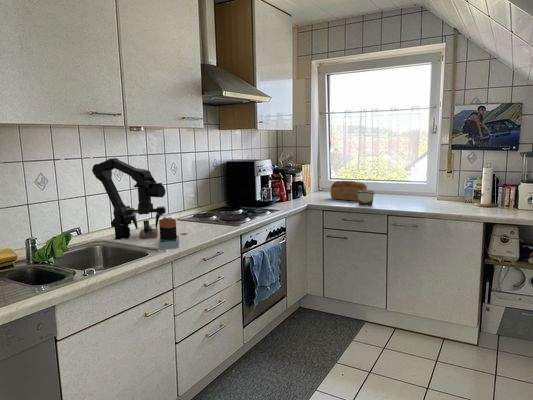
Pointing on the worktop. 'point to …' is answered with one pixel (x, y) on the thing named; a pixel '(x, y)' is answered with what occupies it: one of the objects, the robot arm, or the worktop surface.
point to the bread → (346, 190)
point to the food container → (365, 197)
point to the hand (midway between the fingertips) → (146, 228)
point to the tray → (168, 243)
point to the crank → (146, 228)
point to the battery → (167, 228)
